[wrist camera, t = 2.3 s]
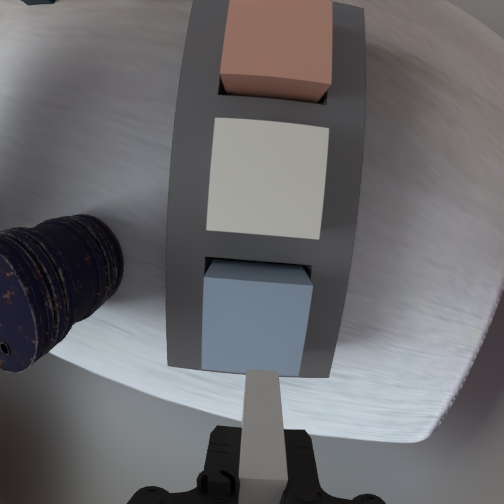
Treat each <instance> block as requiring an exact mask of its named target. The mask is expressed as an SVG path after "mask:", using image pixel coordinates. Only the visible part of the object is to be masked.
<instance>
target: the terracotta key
mask: <svg viewBox="0 0 504 504" xmlns="http://www.w3.org/2000/svg"><path fill="white" fill-rule="evenodd" d="M220 76H221V79H222V82H223V85H224V88H225V91H226V94H227V95H241V96H256V97H268V98H279V99H288V100H297V101H305V102H312V103H317V102H318V101H319V100H320V98H321V97H322V96H323V94H324V93H325V92H326V91H327V89H328V88H329V87H330V85H331V81H332V1H329V0H230V1H229V8H228V15H227V22H226V29H225V36H224V44H223V52H222V60H221V68H220Z"/></svg>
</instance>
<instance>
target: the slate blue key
mask: <svg viewBox="0 0 504 504" xmlns="http://www.w3.org/2000/svg"><path fill="white" fill-rule="evenodd" d="M312 291H313V284H312V283H311V281H310V279H309V277H308V275H307V274H306V272H305V270H304V268H303V267H302V266H294V265H282V264H269V263H257V262H244V261H232V260H220V259H214V260H213V261H212V263H211V265H210V267H209V269H208V270H207V272H206V274H205V276H204V286H203V316H202V369H205V370H214V371H224V372H235V373H246V370H247V369H249V370H262V371H278V373H279V375H280V376H299V370H300V365H301V359H302V354H303V348H304V342H305V336H306V330H307V324H308V317H309V311H310V304H311V298H312Z"/></svg>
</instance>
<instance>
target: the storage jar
mask: <svg viewBox="0 0 504 504" xmlns="http://www.w3.org/2000/svg"><path fill="white" fill-rule="evenodd" d="M123 267H124V263H123V255H122V251H121V247H120V245H119V242H118V240H117V238H116V236H115V235H114V233H113V232H112V231H111V229H110V228H109V227H108V226H107V225H106V224H105V223H103V222H102V221H101V220H99V219H97V218H95V217H93V216H89V215H83V214H82V215H74V216H64V217H59V218H54V219H49V220H45V221H44V222H42V223H40V224H38V225H37V226H35V227H34V228H25V227H24V228H21V227H17V228H11V229H9V230H4V231H0V369H2V370H4V371H7V372H10V373H20V372H23V371H25V370H27V369H28V368H29V367H30V366H31V365H32V364H33V363H34V362H36V360H38V359H39V358H40V357H42V356H43V355H45V354H47V353H48V352H49V351H50V350H51V349H52V348H53V347H55V346H56V345H57V344H58V343H59V342H61V341H62V340H63V339H64V338H65V337H66V335H67V334H68V332H69V331H70V329H71V327H72V325H73V324H75V323H76V322H79V321H82V320H84V319H86V318H88V317H89V316H91V315H92V314H93V313H94V312H95V311H96V310H97V309H98V308H99V307H101V306H102V305H103V304H104V303H105V301H106V300H107V299H108V298H110V297H111V296H112V295H113V294H114V293H115V291H116V290H117V289H118V287H119V285H120V283H121V280H122V276H123Z"/></svg>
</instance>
